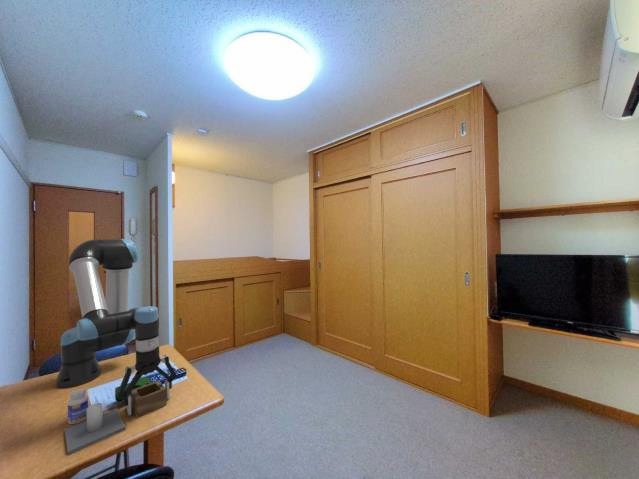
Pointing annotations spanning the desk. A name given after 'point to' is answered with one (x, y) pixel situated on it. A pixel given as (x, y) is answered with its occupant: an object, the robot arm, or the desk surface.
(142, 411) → the wooden box
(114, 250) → the robot arm
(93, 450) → the desk surface
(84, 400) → the pill bottle
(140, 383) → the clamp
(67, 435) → the gray base with post
